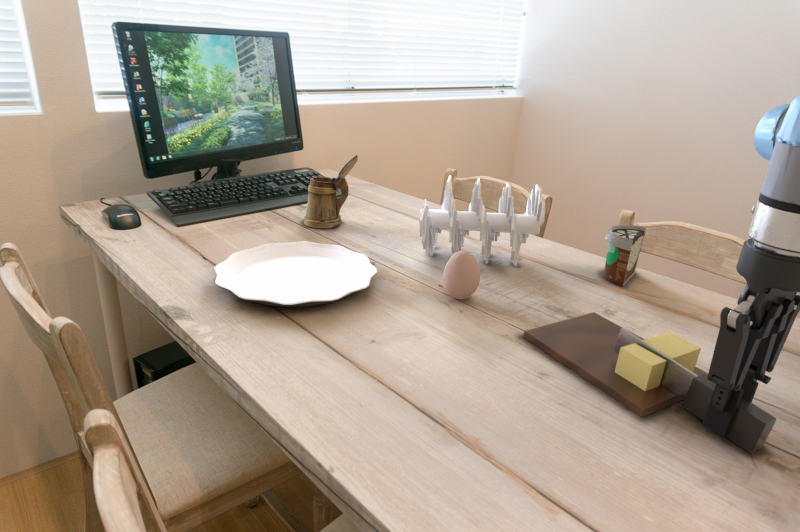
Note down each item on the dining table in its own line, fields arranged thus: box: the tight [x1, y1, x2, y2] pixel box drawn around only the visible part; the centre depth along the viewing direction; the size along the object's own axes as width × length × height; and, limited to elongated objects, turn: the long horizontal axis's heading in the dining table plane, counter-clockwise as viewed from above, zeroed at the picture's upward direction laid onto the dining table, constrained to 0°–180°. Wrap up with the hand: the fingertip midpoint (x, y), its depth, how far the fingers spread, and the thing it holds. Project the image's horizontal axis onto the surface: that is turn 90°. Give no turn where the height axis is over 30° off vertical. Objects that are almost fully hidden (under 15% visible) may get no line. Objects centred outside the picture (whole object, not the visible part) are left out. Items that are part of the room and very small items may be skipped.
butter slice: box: [615, 343, 666, 391], centre depth 72 cm, size 5×3×4 cm, turn 30°
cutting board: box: [523, 311, 709, 418], centre depth 79 cm, size 22×16×1 cm
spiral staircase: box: [419, 175, 546, 267], centre depth 112 cm, size 18×18×25 cm
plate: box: [213, 240, 378, 308], centre depth 100 cm, size 29×29×2 cm
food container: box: [603, 224, 647, 287], centre depth 109 cm, size 12×6×10 cm, turn 144°
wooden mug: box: [303, 154, 359, 229], centre depth 129 cm, size 9×14×18 cm, turn 73°
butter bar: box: [643, 331, 702, 372], centre depth 75 cm, size 5×6×4 cm
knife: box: [614, 327, 778, 455], centre depth 69 cm, size 21×2×4 cm, turn 30°
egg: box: [442, 250, 481, 300], centre depth 95 cm, size 7×7×9 cm
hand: (722, 425), depth 65 cm, fingers closed on knife, 2 cm apart
